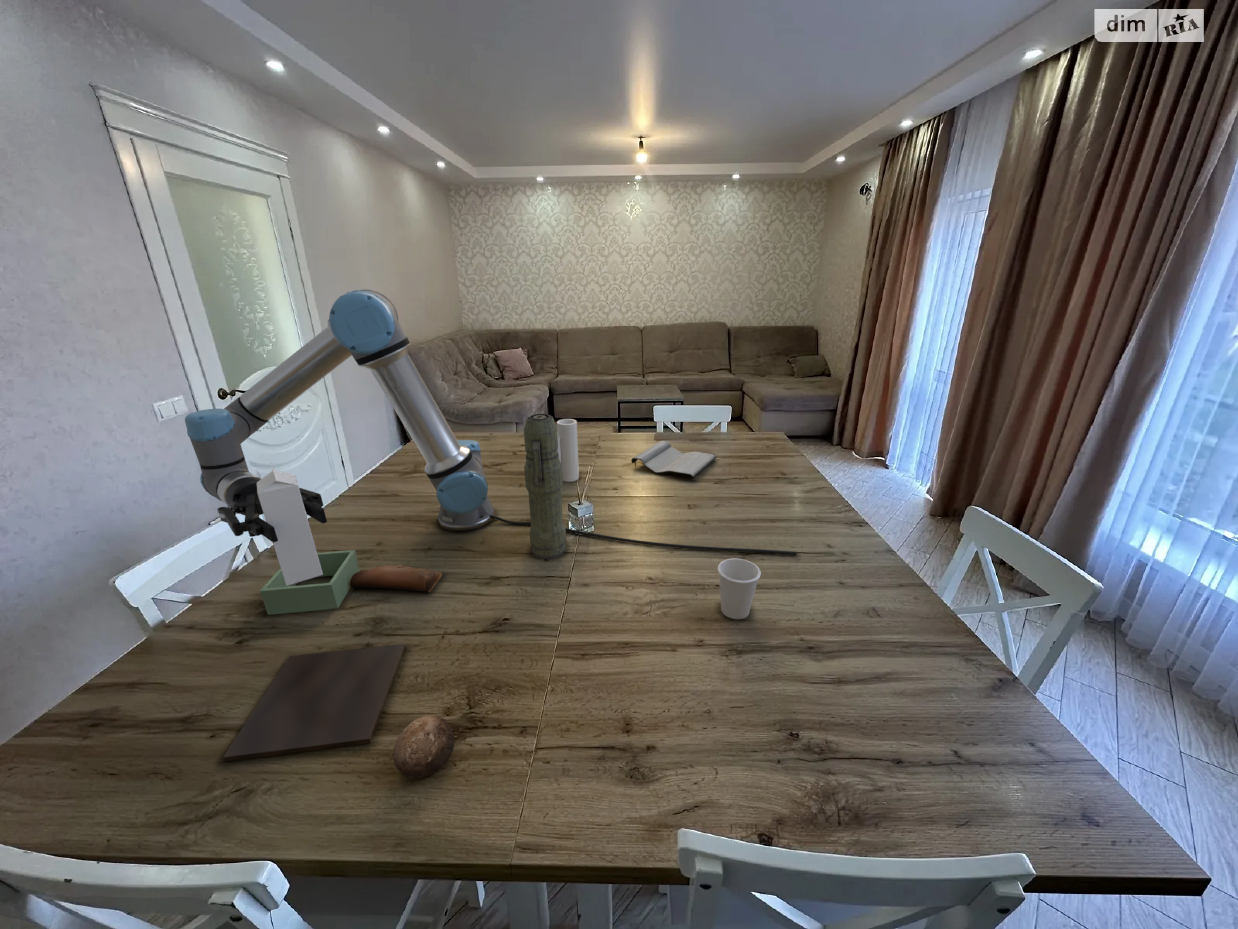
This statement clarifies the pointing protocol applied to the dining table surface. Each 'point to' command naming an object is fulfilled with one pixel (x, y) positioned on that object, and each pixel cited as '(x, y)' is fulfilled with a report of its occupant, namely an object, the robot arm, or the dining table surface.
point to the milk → (289, 526)
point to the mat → (673, 459)
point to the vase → (568, 449)
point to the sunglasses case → (396, 578)
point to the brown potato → (423, 746)
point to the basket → (312, 586)
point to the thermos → (544, 486)
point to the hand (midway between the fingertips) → (299, 525)
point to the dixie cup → (737, 586)
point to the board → (320, 703)
